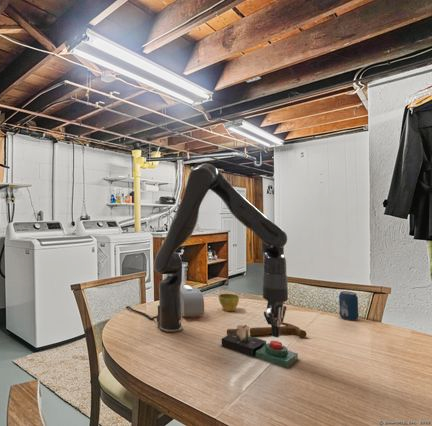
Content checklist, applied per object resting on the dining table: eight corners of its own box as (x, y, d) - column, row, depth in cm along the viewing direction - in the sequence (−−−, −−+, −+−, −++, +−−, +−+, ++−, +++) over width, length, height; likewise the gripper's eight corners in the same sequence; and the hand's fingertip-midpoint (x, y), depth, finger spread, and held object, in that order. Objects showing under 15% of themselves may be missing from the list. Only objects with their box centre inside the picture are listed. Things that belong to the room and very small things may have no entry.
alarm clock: (204, 320, 142) (204, 291, 142) (184, 320, 142) (183, 292, 142) (193, 307, 163) (193, 282, 163) (175, 307, 163) (175, 282, 163)
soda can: (357, 317, 142) (356, 291, 142) (359, 322, 136) (358, 295, 136) (338, 315, 146) (338, 290, 146) (340, 319, 140) (339, 293, 140)
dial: (246, 343, 109) (246, 329, 109) (235, 339, 112) (234, 326, 112) (252, 339, 112) (251, 326, 112) (240, 336, 115) (240, 323, 115)
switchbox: (255, 357, 104) (255, 346, 104) (267, 350, 110) (267, 339, 110) (287, 368, 96) (286, 356, 96) (297, 359, 102) (297, 347, 102)
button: (268, 347, 103) (268, 342, 103) (273, 344, 106) (272, 339, 106) (279, 351, 101) (279, 345, 101) (284, 348, 103) (283, 342, 103)
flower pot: (214, 307, 161) (214, 294, 161) (231, 306, 164) (231, 292, 164) (226, 313, 151) (225, 299, 151) (243, 311, 154) (243, 297, 154)
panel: (221, 346, 114) (221, 338, 114) (235, 339, 120) (235, 331, 120) (253, 357, 104) (253, 348, 104) (266, 349, 111) (266, 340, 111)
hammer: (234, 341, 117) (306, 337, 120) (233, 333, 118) (306, 329, 120) (220, 330, 129) (287, 327, 132) (220, 323, 129) (286, 320, 132)
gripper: (278, 290, 97) (279, 345, 96) (294, 284, 105) (295, 334, 105) (254, 286, 102) (255, 338, 102) (271, 280, 111) (272, 328, 111)
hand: (275, 336), depth 104 cm, fingers closed
